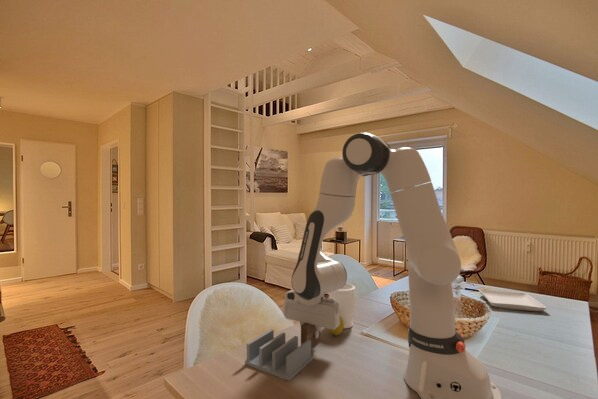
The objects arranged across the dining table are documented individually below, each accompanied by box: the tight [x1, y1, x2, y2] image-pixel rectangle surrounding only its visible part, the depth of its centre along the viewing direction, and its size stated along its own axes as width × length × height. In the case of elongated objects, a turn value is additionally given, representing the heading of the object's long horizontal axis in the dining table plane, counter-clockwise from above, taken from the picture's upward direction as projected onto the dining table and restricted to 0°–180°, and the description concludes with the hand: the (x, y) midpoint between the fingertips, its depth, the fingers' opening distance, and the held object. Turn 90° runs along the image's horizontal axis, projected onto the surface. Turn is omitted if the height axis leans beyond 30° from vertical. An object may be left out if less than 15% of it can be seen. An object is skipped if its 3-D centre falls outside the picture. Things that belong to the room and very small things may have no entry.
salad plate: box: [478, 289, 547, 312], centre depth 140 cm, size 21×21×3 cm
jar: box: [328, 283, 357, 330], centre depth 118 cm, size 11×10×15 cm
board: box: [300, 323, 322, 349], centre depth 101 cm, size 2×9×8 cm, turn 148°
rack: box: [244, 328, 314, 382], centre depth 91 cm, size 16×13×6 cm
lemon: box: [328, 315, 344, 336], centre depth 109 cm, size 6×6×8 cm
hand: (310, 336), depth 101 cm, fingers closed on board, 2 cm apart
